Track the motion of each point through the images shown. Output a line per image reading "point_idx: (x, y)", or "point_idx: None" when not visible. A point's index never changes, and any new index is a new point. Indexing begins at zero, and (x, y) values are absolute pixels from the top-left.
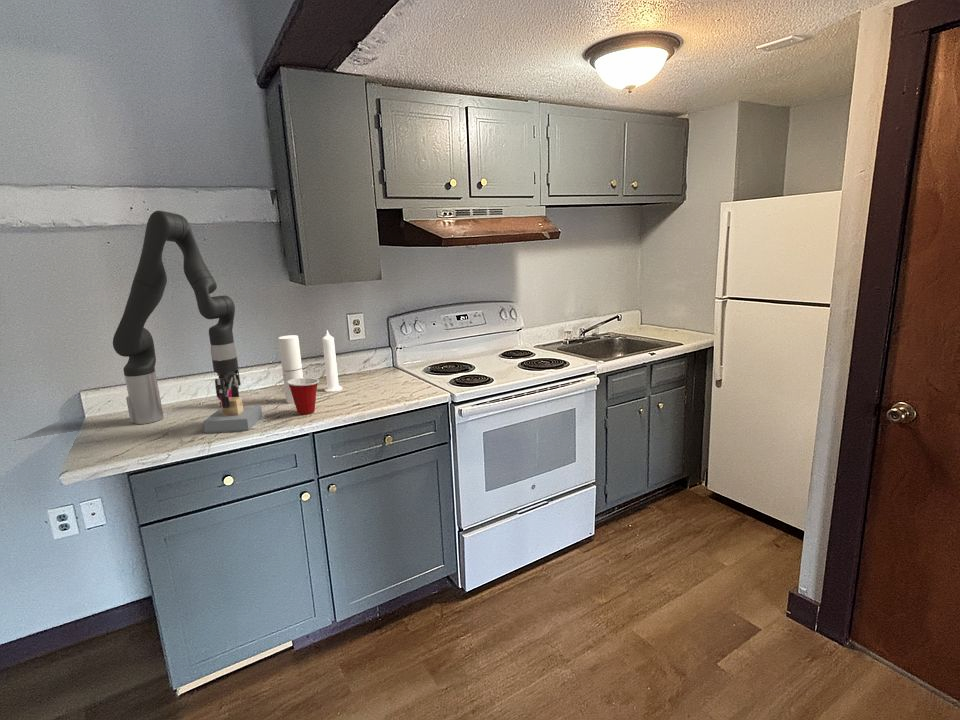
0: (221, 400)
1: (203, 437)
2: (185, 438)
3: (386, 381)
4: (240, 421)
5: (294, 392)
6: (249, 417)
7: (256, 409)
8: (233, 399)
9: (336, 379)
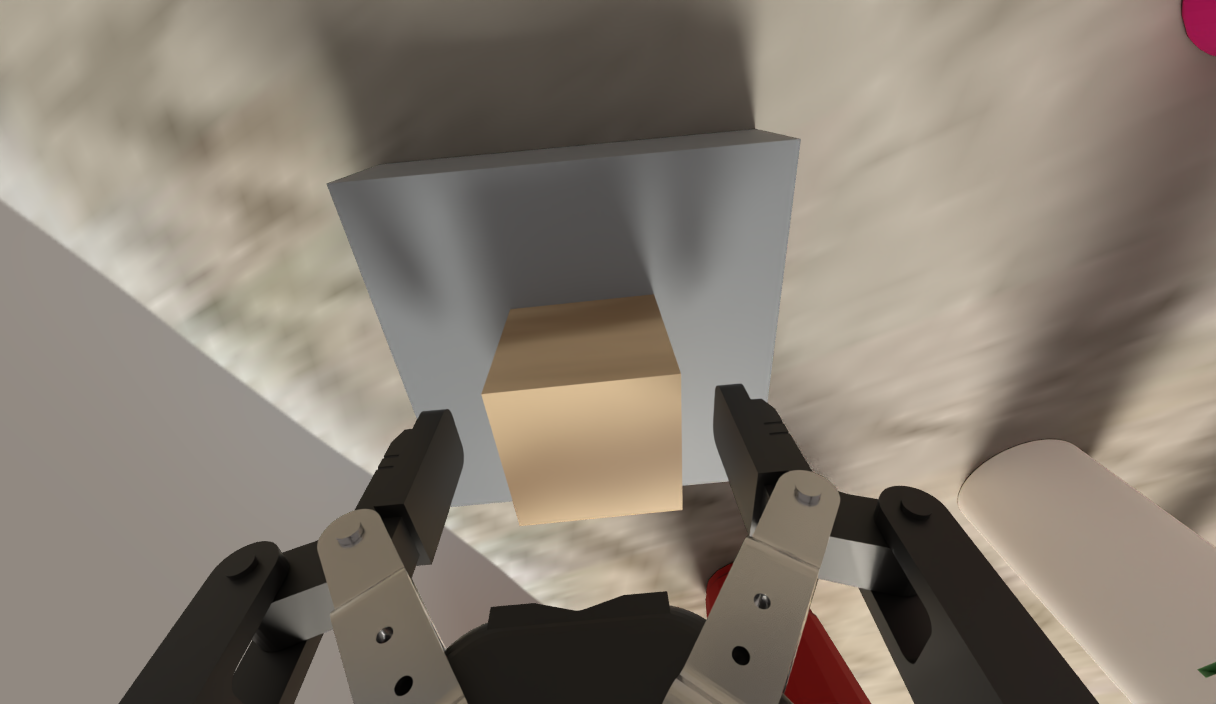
0: (392, 472)
1: (289, 206)
2: (215, 25)
3: (1099, 698)
4: None
5: None
6: (499, 497)
7: None
8: (577, 483)
9: None
